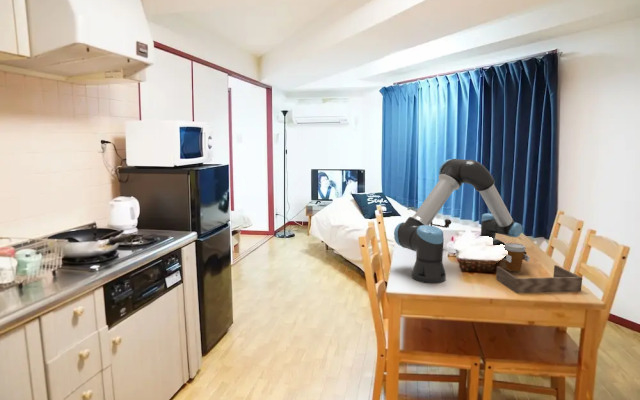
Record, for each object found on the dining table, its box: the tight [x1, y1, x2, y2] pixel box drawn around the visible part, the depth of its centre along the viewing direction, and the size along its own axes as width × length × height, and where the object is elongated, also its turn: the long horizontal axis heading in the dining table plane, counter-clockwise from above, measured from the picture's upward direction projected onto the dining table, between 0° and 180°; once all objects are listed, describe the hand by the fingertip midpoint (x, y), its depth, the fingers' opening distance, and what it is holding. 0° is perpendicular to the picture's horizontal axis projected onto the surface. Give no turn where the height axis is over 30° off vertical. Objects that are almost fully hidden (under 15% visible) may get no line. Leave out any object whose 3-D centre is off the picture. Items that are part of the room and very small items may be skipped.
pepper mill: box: [429, 218, 452, 229], centre depth 238 cm, size 16×11×18 cm
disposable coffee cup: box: [504, 242, 527, 272], centre depth 197 cm, size 10×10×12 cm
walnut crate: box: [495, 264, 583, 294], centre depth 178 cm, size 28×17×6 cm, turn 93°
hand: (519, 259), depth 192 cm, fingers closed on disposable coffee cup, 8 cm apart
